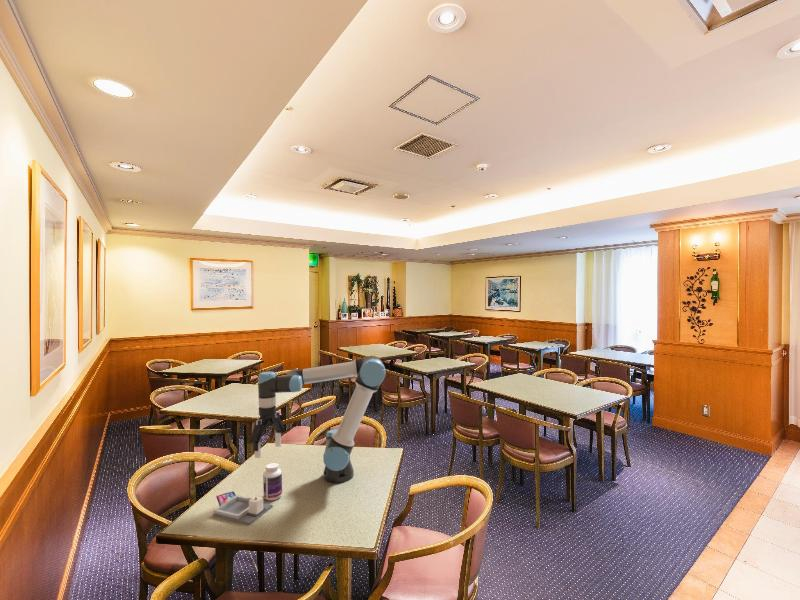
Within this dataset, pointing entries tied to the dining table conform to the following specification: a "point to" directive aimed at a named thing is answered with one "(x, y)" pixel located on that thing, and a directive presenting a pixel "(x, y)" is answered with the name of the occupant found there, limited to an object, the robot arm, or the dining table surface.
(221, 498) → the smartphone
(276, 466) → the pill bottle
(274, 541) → the dining table surface
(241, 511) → the dock plate
